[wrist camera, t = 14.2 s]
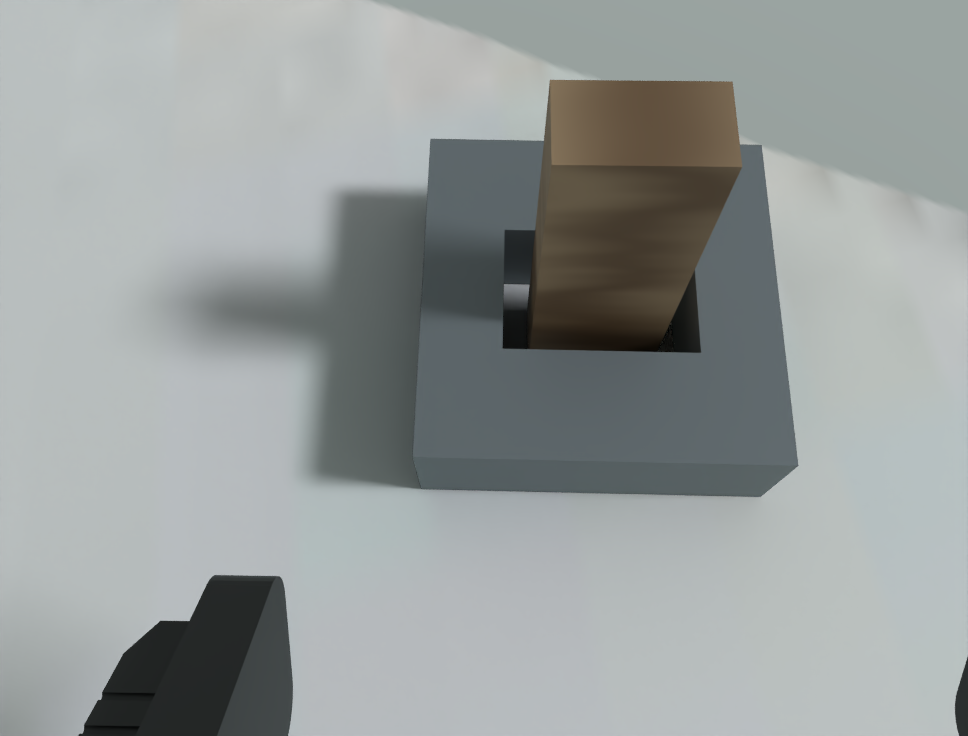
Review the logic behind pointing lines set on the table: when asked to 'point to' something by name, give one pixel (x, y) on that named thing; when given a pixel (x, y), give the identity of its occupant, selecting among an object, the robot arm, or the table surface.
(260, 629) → the robot arm
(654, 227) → the slat
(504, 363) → the grey square socket block
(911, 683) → the table surface
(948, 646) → the table surface
